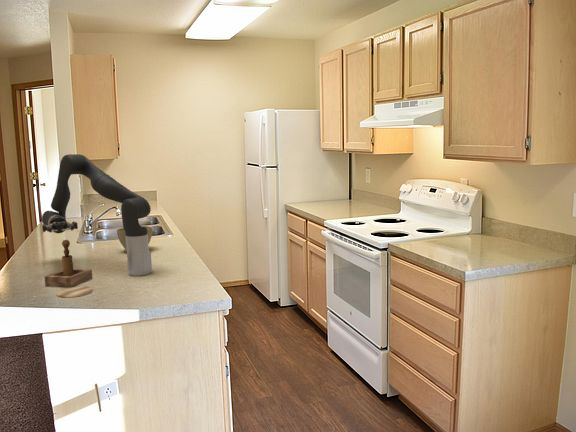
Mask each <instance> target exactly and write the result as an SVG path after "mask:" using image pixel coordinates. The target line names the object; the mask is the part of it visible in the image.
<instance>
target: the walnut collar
mask: <svg viewBox="0 0 576 432" xmlns="http://www.w3.org/2000/svg"><path fill="white" fill-rule="evenodd" d="M73 271H74V275H72V276H63V275H64V273H63V269H60V270H58V271H56V272H53V273H50V274H47V275H45V276H44V284H45V287H57V288H70V287H77V286H79V285H81V284H83V283H86V282H87V281H90V280H92V279H93V269H90V268H86V269H85V268H73Z"/></svg>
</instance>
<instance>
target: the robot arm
mask: <svg viewBox="0 0 576 432" xmlns="http://www.w3.org/2000/svg"><path fill="white" fill-rule="evenodd" d="M57 174H58V175H57V182H56V187H55V191H54V195H53V197H52V200H51V202H50V203H51V204H50V207H51V209H52V210H53V211H52V210H46V211H44V212H43V213H42V216H41V222H42V224H41V228H42V232H43V233H46V231H47V233H55V234H62V233H64V232H65V231H69V230H70V231H72V232H73V231H74V230H78V228H79V227H78V222H77V221H72V222H71V223H70V221H67V220H66V218H67V216H66V215H67V214H66V212H67V208H68V205H69V203H70V198H71V191H70V187H69V180H70V177H71V175H82V176H84V177H86V178H87V179H89V180H90V185H91V187H92V189H93V190H94V191H95V192H96V193H97V194H99V195H100V196H102V197H103V198H105V199H108V200H110V201H113V202H116V203H120V204H121V205H120V213H121V221H122V228H124V231H125V234H126V248H127V250H126V258H127V261H126V262H127V268H128V269H127V271H128V275H130V276H135V277H137V276H139V277H140V276H146V275H148V274H151V273H153V264H152V252H151V250H149V249H150V247H149V244H148V232H147V228H146V227H143V226H144V225H141V224H140V222H139V219H144V218H146V217H148V216H149V215H150V213H151V211H152V209H151V205H150V203H149V202H148V200H147V199H146V198H144V197H143V196H141V195H139V194H137V193H136V192H134V191H131V190H130V189H128V188H127V187H126V186H124V185H123V184H121V183H120V182H119V181H117V180H116V179H114V178H113V177H112V176H111V175H109V174H107V173H106V172H104V170H102V169H100V167H97V166H96V165H95V164H94V162H92V161H91V160H90V159H89V158H88V157H86V156H85V155H83V154H79V153H78V154H70V153H69V154H65V155H64V156H62V158H61V159H60V163H59V168H58V173H57Z"/></svg>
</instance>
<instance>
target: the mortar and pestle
mask: <svg viewBox="0 0 576 432" xmlns="http://www.w3.org/2000/svg"><path fill="white" fill-rule="evenodd" d="M70 243H71V241H70V240H69V239H64V240H62V242H61V245H62V248H64V249H63V254H64V255H63V256H61V260H62V270H63V273H64V275H63V276H72V275H74V271H73V269H74V263H73V261H74V260H73V255H71V254H70V250H69V248H70V246H71V244H70Z"/></svg>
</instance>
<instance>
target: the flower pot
mask: <svg viewBox="0 0 576 432" xmlns="http://www.w3.org/2000/svg"><path fill="white" fill-rule="evenodd" d="M142 226H143V227H146V228H147V232H148V245H149V244H150V242H151V239H152V235H153V227H152V226H150V225H142ZM116 235H117V238H118V240H119V243H120V244H121V245H122V247H123V248H124V249H125V251H127V248H126V234H125V231H124V228H123V227H121V228H118V229H116Z"/></svg>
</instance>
